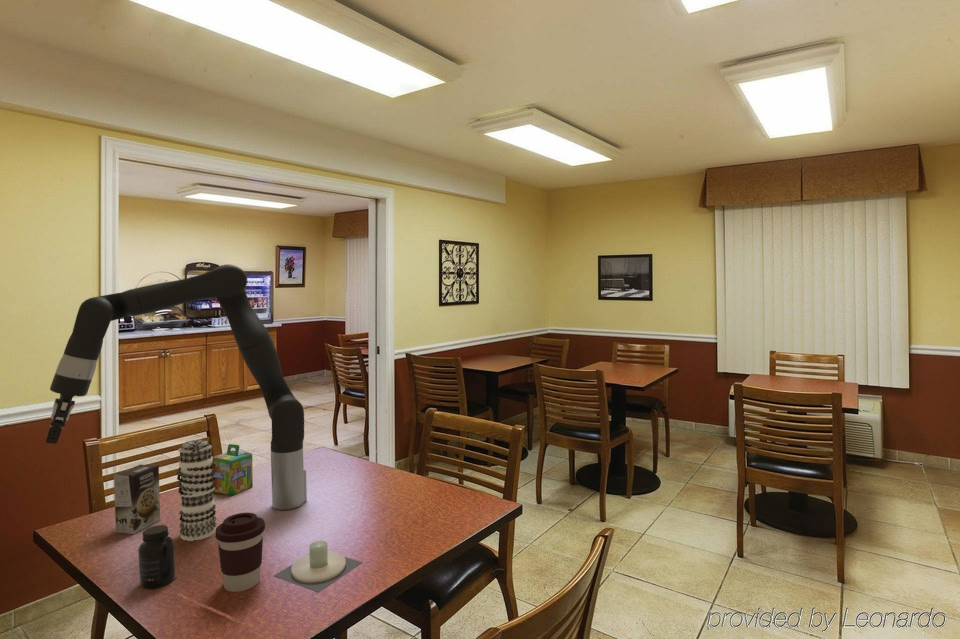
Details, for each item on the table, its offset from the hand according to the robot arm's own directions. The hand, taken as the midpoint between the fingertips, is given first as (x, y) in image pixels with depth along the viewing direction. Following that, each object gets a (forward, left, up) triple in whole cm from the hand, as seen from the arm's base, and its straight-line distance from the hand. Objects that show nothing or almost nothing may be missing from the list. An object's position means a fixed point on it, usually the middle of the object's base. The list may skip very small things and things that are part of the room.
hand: (52, 438), depth 128 cm
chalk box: (-49, 0, -29) cm, 57 cm away
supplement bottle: (-5, +34, -29) cm, 45 cm away
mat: (-25, +63, -29) cm, 74 cm away
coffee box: (-19, +1, -29) cm, 35 cm away
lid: (-25, +63, -29) cm, 74 cm away
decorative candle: (-24, +20, -29) cm, 43 cm away
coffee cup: (-13, +52, -29) cm, 61 cm away
